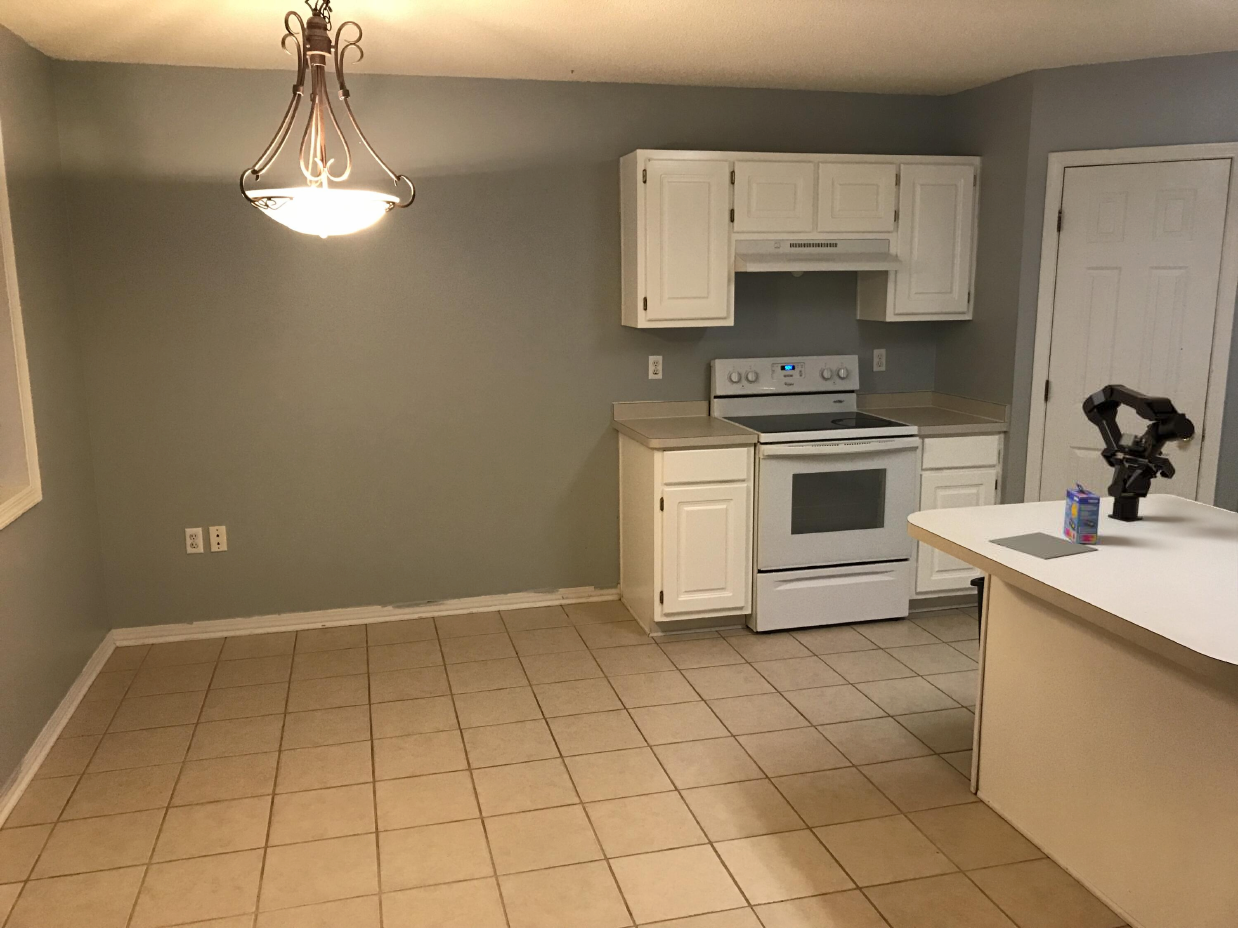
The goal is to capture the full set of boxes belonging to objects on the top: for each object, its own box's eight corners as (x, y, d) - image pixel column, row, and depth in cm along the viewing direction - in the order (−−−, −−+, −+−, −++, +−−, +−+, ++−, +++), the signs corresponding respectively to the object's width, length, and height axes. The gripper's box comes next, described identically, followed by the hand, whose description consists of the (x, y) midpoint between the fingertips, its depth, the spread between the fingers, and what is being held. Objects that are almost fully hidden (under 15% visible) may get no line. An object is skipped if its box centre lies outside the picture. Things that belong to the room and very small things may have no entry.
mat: (1039, 533, 261) (1039, 532, 261) (1097, 550, 245) (1097, 548, 245) (988, 541, 253) (988, 540, 253) (1045, 559, 237) (1045, 558, 237)
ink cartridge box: (1061, 533, 259) (1066, 479, 257) (1083, 534, 259) (1088, 480, 256) (1074, 543, 250) (1080, 487, 247) (1097, 544, 249) (1103, 488, 247)
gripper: (1108, 417, 265) (1075, 461, 262) (1172, 427, 248) (1138, 474, 246) (1126, 444, 270) (1094, 487, 267) (1190, 455, 253) (1156, 501, 251)
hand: (1119, 486), depth 258 cm, fingers open, 4 cm apart
